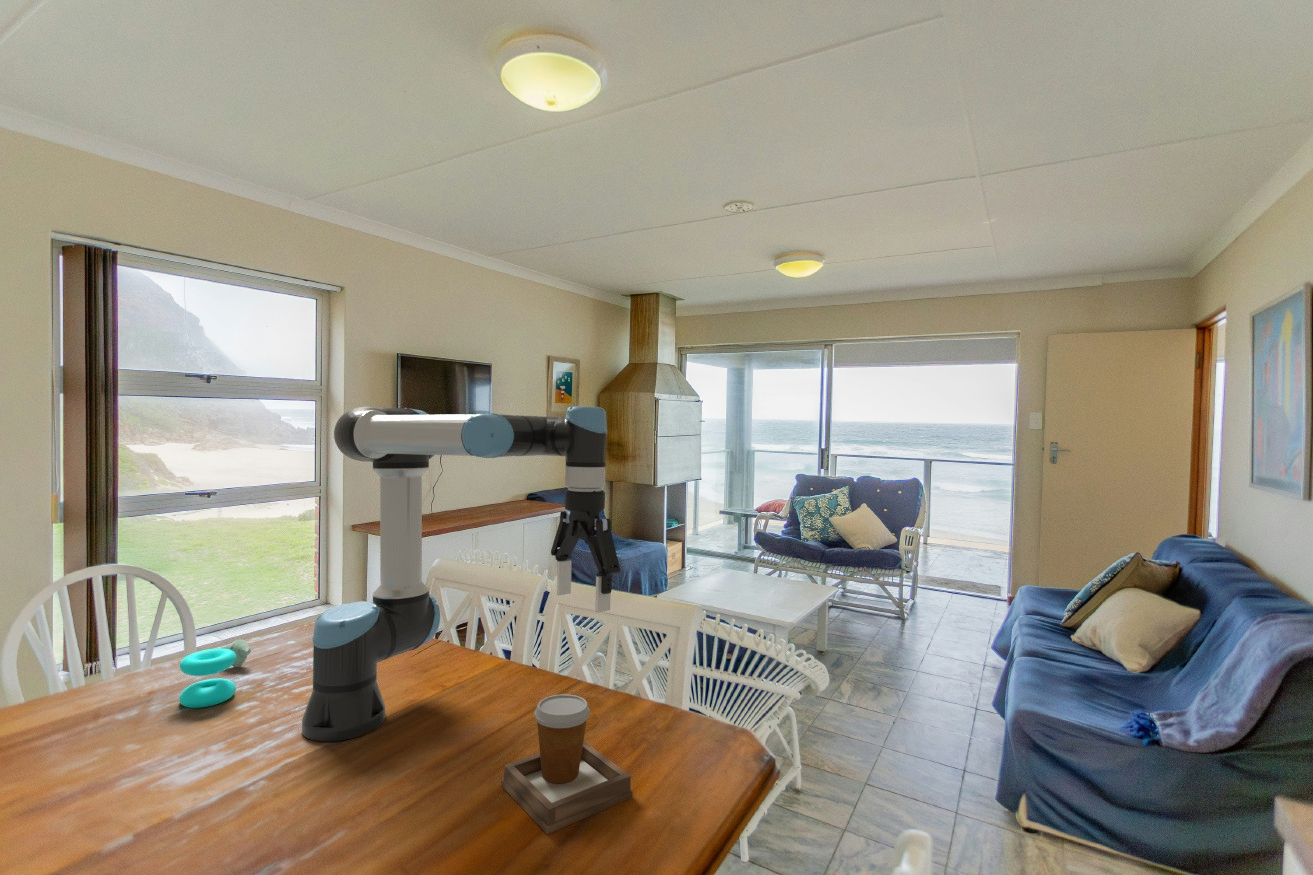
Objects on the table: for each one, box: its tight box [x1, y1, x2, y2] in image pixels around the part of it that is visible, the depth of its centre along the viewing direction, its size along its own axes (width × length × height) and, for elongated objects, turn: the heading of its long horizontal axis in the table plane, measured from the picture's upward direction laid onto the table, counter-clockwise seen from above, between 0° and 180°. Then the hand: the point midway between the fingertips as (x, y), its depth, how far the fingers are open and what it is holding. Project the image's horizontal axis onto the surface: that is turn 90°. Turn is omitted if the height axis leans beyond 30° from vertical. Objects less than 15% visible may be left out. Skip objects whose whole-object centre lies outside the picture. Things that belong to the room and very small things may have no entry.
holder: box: [500, 740, 634, 835], centre depth 105 cm, size 16×16×4 cm
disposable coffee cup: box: [534, 693, 591, 783], centre depth 108 cm, size 10×10×12 cm
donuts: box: [178, 647, 236, 709], centre depth 136 cm, size 10×10×10 cm
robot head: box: [221, 638, 252, 669], centre depth 154 cm, size 8×4×7 cm, turn 76°
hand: (582, 602), depth 117 cm, fingers open, 13 cm apart
